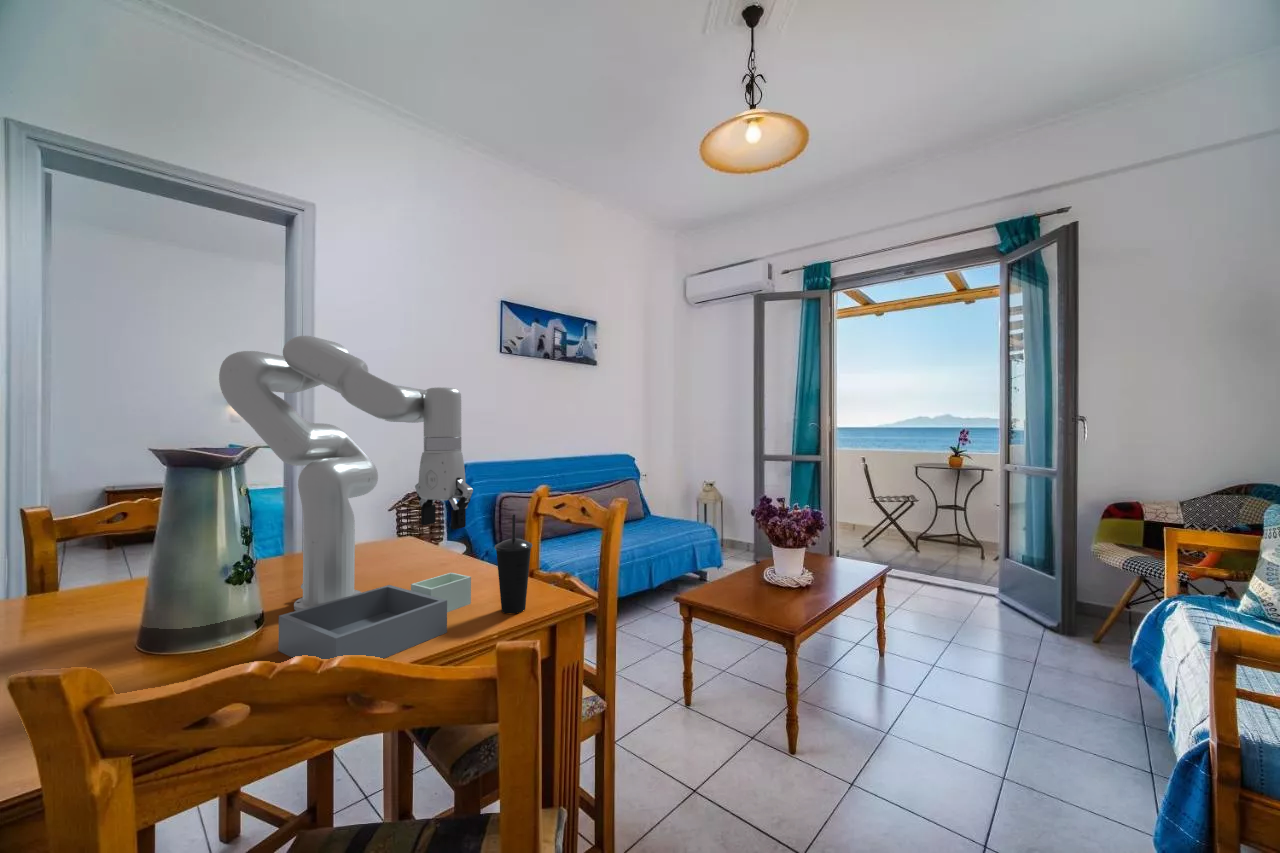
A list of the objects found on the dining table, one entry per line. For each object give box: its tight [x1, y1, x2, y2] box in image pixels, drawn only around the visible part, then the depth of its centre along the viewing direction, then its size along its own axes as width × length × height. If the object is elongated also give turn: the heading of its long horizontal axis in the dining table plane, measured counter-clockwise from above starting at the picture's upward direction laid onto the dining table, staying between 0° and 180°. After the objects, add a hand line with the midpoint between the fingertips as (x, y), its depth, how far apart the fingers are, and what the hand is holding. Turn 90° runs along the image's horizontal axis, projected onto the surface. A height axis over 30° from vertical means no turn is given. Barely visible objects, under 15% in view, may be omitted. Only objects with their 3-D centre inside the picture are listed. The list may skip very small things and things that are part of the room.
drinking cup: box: [494, 514, 533, 614], centre depth 105 cm, size 8×8×20 cm
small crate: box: [410, 572, 472, 613], centre depth 106 cm, size 6×10×6 cm, turn 149°
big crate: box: [277, 584, 448, 659], centre depth 89 cm, size 18×20×6 cm
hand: (443, 526), depth 106 cm, fingers open, 9 cm apart
